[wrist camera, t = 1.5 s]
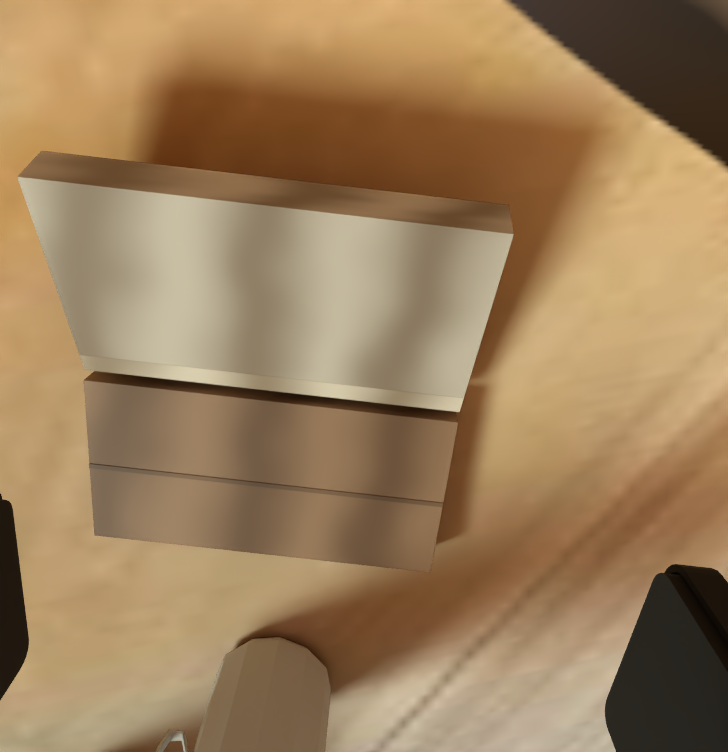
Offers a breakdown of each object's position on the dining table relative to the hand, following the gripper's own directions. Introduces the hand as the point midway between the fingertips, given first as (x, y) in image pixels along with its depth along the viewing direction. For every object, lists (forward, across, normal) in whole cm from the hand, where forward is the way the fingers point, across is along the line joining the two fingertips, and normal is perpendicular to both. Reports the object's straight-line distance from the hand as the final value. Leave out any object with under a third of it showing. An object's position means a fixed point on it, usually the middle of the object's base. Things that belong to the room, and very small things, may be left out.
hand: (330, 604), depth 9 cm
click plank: (+20, +4, +1) cm, 20 cm away
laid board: (+22, +3, +11) cm, 24 cm away
